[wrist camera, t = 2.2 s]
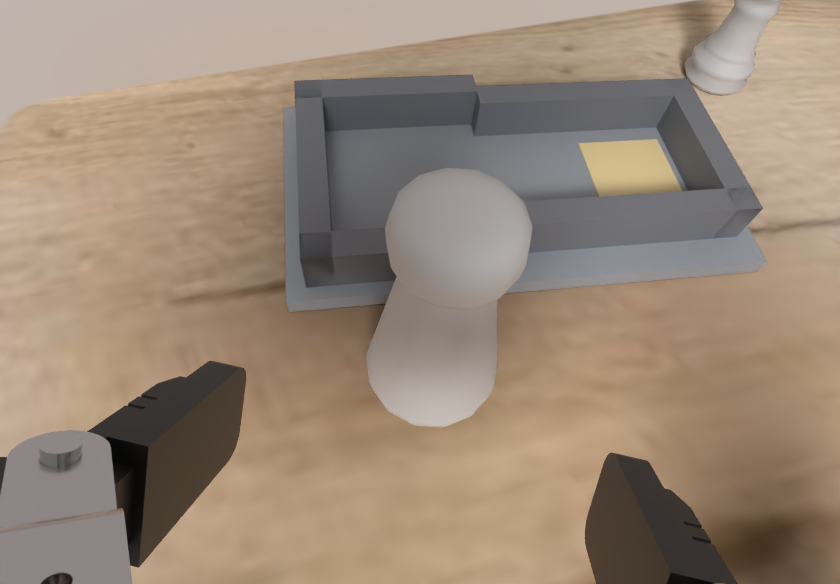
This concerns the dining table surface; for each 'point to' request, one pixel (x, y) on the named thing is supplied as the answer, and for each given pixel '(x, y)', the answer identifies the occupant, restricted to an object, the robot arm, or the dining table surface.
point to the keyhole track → (514, 179)
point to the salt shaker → (446, 294)
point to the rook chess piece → (730, 48)
